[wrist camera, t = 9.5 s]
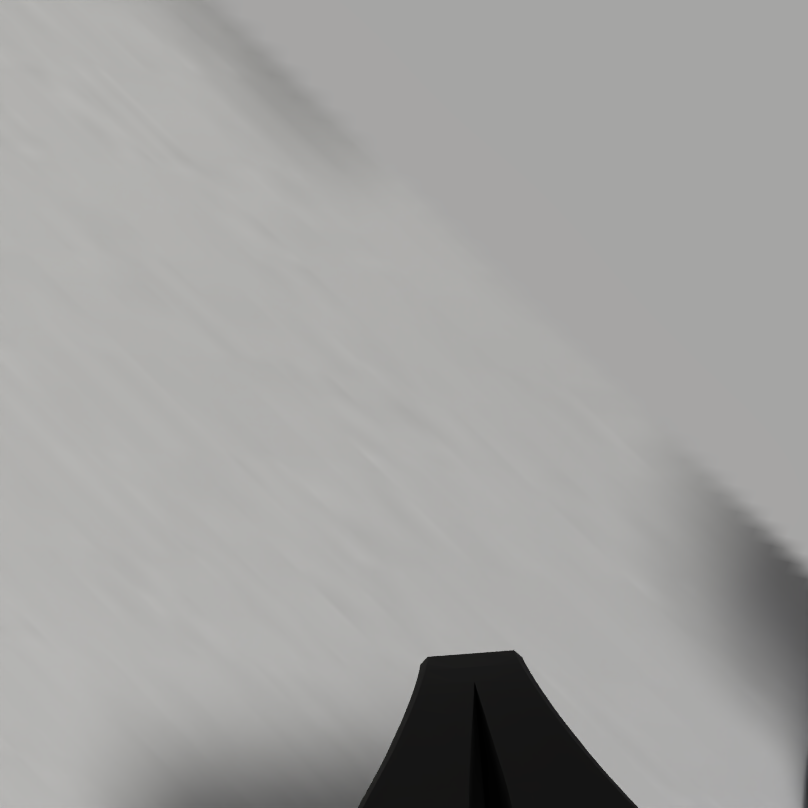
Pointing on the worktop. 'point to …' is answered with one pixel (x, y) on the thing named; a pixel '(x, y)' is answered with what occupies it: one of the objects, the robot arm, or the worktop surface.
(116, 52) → the worktop surface
